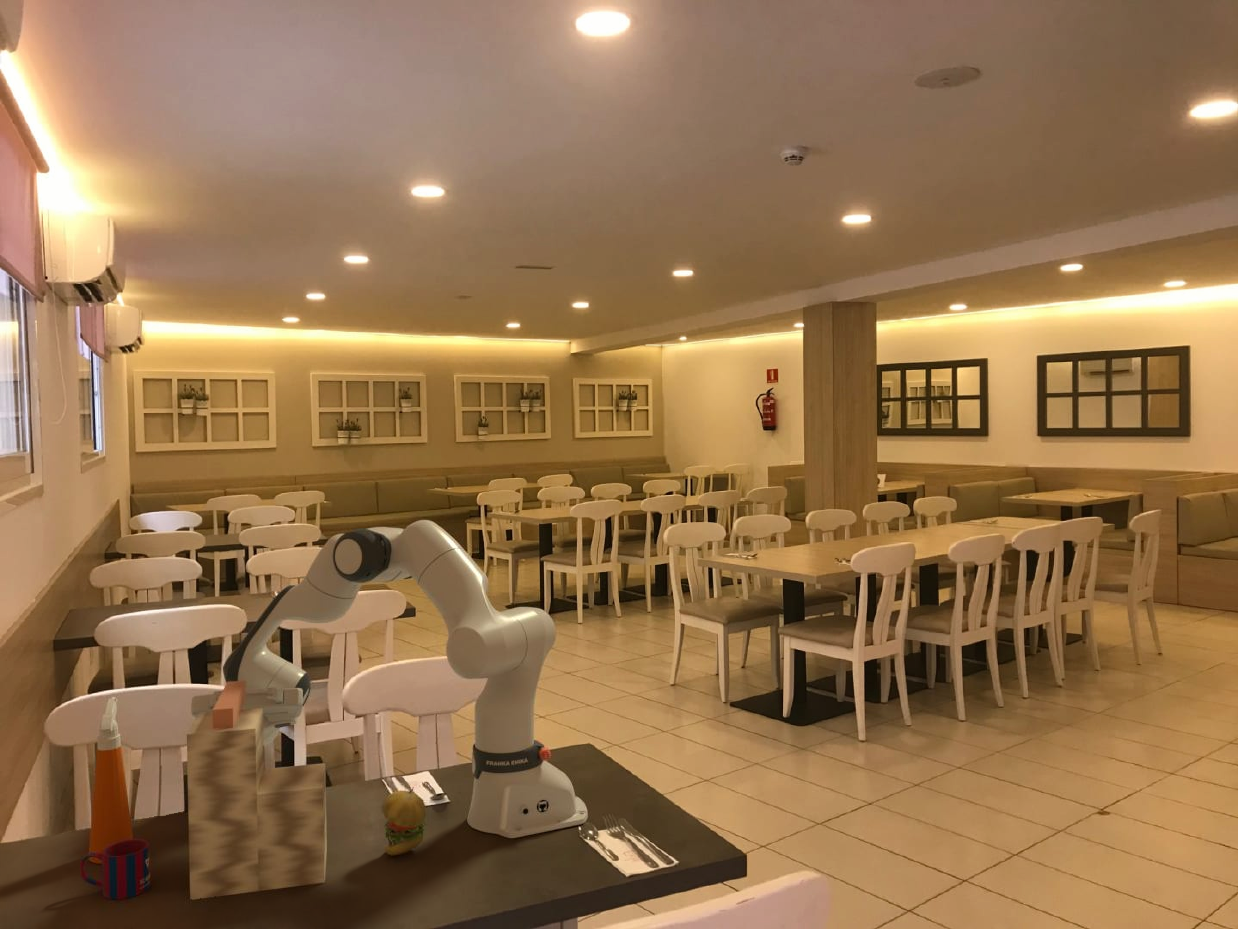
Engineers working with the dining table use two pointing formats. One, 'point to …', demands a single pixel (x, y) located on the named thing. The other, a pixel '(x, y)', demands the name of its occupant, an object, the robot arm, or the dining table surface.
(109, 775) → the spray bottle
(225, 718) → the bar
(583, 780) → the dining table surface
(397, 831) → the hamburger
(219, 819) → the stepped stand
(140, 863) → the mug
